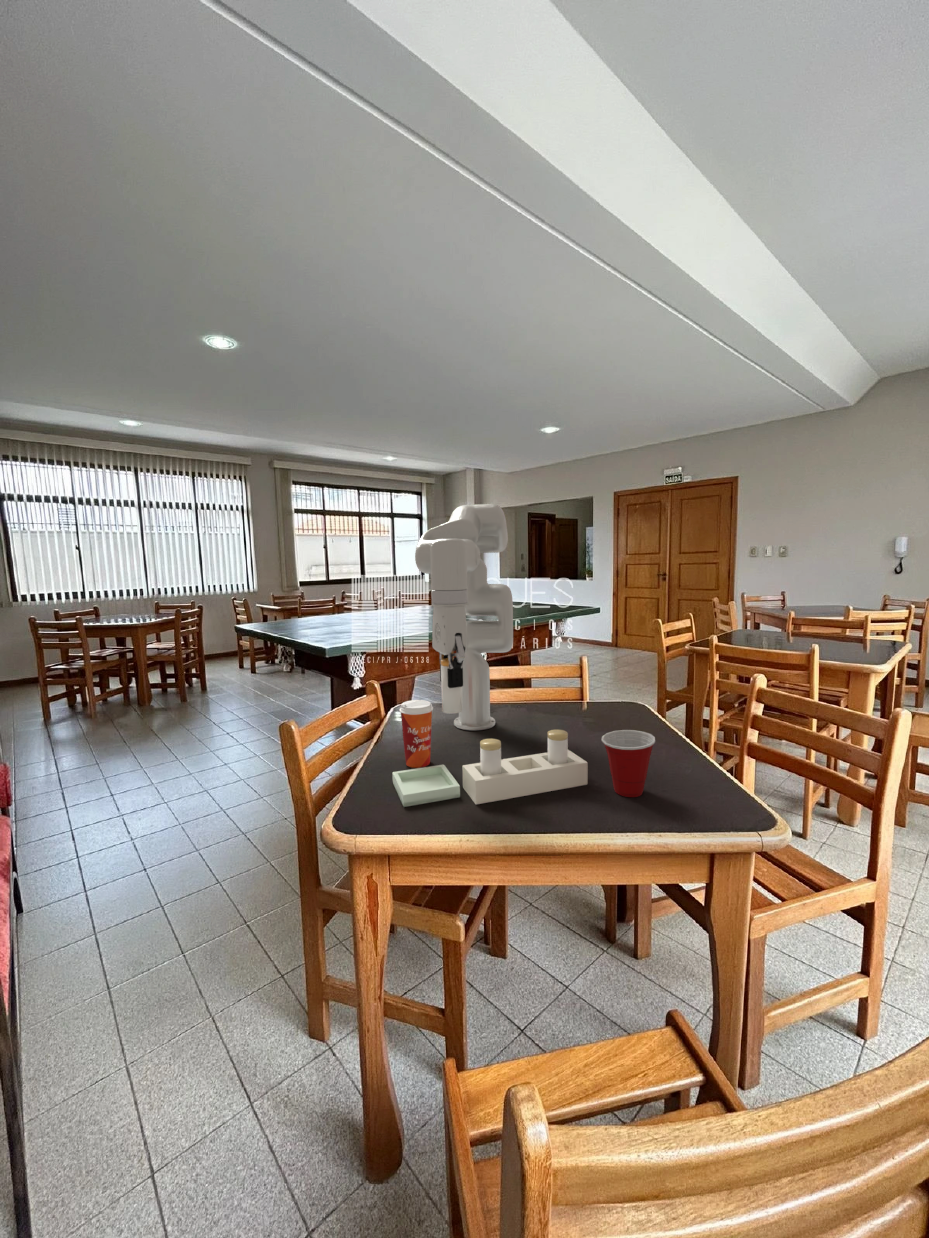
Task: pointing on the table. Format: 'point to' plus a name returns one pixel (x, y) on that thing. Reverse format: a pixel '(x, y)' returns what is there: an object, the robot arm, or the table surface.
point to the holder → (524, 777)
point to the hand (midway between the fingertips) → (451, 683)
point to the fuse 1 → (490, 757)
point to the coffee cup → (417, 732)
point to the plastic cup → (628, 760)
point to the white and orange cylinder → (449, 692)
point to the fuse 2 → (557, 747)
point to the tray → (425, 785)
